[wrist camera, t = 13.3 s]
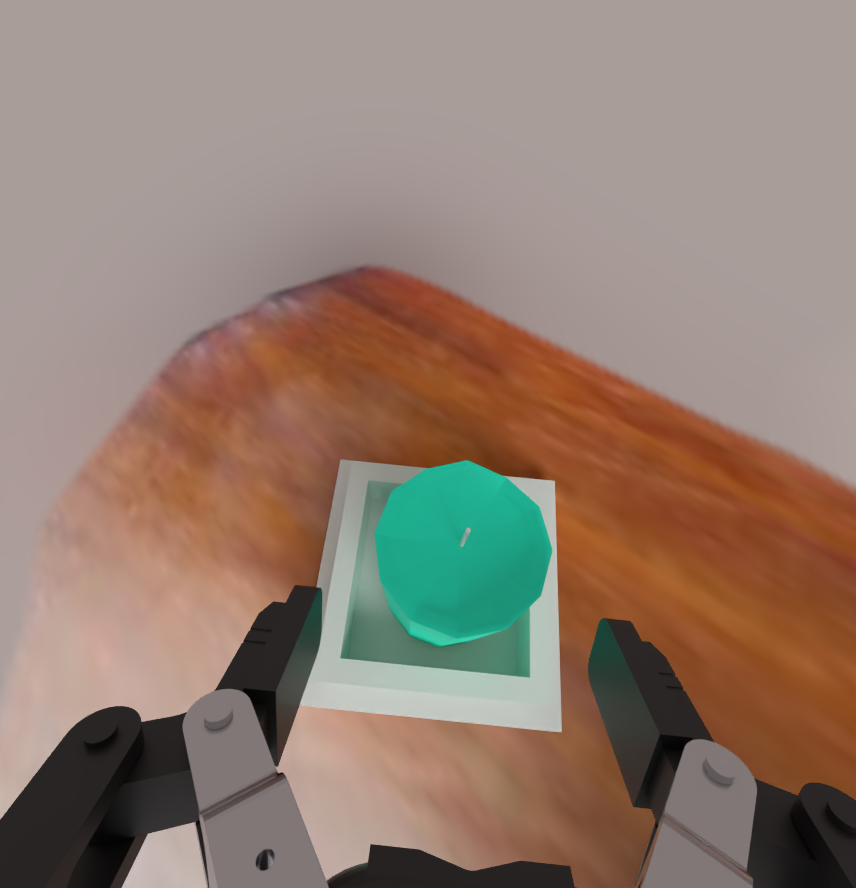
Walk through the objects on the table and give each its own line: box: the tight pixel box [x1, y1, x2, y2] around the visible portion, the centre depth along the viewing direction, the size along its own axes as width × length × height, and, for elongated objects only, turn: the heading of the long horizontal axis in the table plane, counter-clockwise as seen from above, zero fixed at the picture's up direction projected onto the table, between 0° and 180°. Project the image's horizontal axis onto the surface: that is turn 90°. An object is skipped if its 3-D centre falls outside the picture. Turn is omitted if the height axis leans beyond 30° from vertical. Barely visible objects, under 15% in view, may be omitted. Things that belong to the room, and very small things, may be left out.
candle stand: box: [300, 460, 562, 732], centre depth 24 cm, size 13×13×4 cm
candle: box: [374, 460, 553, 647], centre depth 19 cm, size 6×6×12 cm
